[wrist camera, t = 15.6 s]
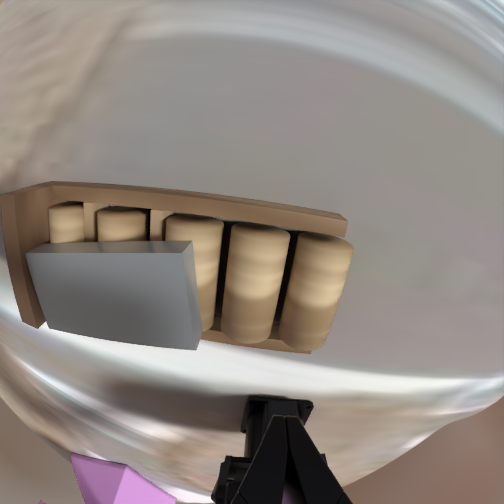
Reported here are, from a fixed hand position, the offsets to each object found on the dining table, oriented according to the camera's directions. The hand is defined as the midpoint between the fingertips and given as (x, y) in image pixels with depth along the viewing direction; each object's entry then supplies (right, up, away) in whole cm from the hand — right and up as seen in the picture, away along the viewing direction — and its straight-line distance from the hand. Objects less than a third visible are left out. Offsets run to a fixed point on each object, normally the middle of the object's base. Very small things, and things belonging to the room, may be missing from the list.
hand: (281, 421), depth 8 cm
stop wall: (-17, +7, +11) cm, 22 cm away
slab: (-10, +4, +8) cm, 14 cm away
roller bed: (-6, +5, +11) cm, 14 cm away
